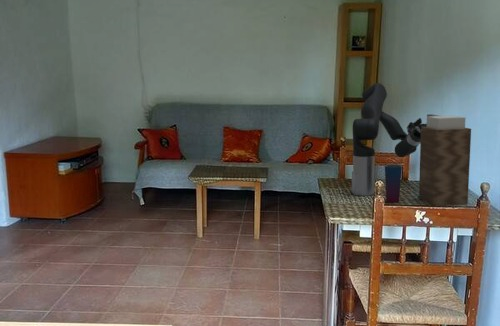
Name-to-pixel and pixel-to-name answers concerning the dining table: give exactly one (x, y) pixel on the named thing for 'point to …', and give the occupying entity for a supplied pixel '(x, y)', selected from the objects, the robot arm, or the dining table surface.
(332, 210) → the dining table surface
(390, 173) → the cup
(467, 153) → the cabinet
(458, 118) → the caddy
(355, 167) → the robot arm
